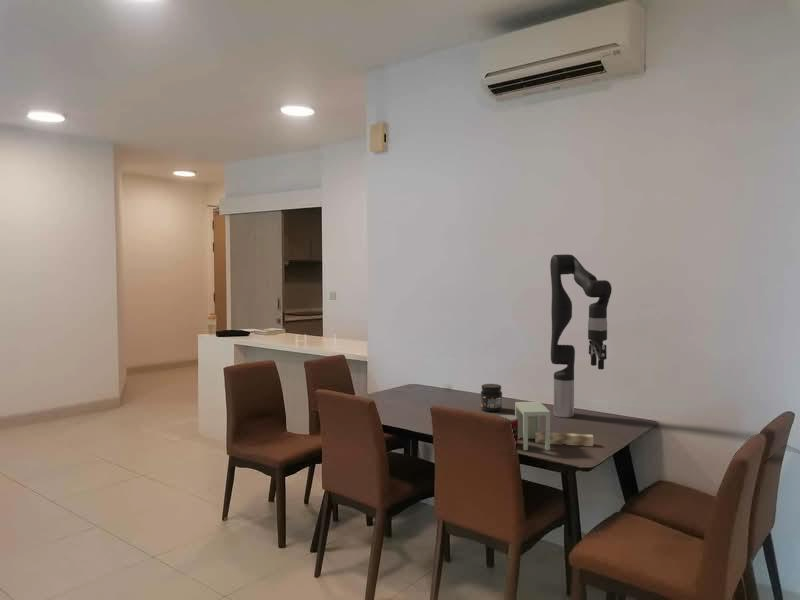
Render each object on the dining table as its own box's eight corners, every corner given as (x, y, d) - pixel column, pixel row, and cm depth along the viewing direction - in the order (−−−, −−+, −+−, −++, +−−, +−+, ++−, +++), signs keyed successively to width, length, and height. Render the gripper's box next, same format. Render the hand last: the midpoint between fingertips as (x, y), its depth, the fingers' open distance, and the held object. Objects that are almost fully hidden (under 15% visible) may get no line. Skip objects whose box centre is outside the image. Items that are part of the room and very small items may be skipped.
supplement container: (482, 406, 290) (482, 382, 289) (503, 408, 287) (503, 384, 286) (478, 411, 280) (478, 387, 279) (500, 413, 277) (500, 388, 276)
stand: (515, 437, 238) (515, 401, 237) (539, 437, 238) (539, 401, 237) (523, 450, 222) (524, 412, 221) (549, 450, 222) (550, 411, 221)
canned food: (495, 441, 233) (495, 415, 232) (514, 440, 234) (514, 414, 233) (500, 447, 225) (500, 420, 225) (520, 446, 226) (520, 419, 225)
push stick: (535, 443, 231) (535, 433, 231) (535, 441, 234) (535, 431, 234) (593, 447, 226) (593, 436, 226) (592, 444, 229) (592, 434, 229)
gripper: (582, 326, 246) (582, 364, 247) (594, 330, 232) (594, 370, 233) (600, 326, 246) (600, 364, 247) (613, 330, 232) (612, 370, 233)
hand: (597, 367), depth 240 cm, fingers open, 8 cm apart
